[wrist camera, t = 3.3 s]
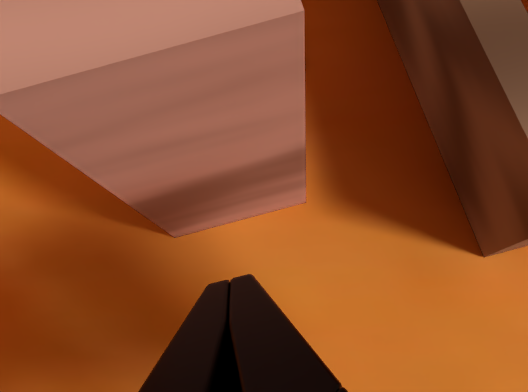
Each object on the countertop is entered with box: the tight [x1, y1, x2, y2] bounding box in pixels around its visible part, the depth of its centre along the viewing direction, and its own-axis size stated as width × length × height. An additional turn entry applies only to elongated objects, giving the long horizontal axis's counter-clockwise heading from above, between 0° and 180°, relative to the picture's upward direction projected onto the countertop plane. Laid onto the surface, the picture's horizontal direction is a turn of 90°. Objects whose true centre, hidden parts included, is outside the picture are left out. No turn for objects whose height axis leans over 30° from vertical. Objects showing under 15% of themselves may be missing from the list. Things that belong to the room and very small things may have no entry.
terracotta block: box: [0, 0, 306, 238], centre depth 12 cm, size 5×5×10 cm
